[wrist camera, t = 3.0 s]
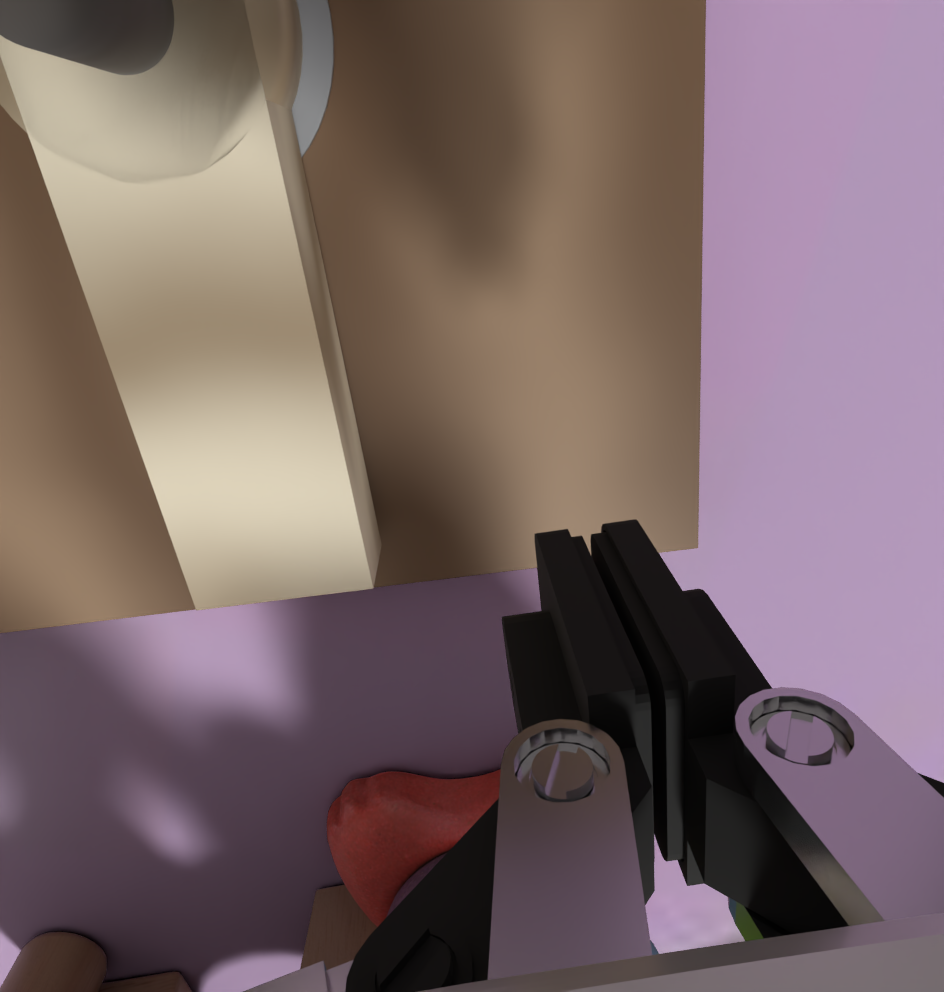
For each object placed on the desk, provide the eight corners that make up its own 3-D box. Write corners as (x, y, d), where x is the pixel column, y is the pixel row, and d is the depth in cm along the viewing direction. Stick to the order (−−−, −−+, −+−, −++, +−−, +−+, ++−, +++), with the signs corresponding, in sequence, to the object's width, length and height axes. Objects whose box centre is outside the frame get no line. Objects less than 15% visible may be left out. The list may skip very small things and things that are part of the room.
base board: (682, -457, 12) (718, -554, 10) (680, 521, 19) (700, 551, 18) (-780, -216, 12) (-956, -272, 11) (-216, 631, 20) (-270, 670, 19)
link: (-30, -123, 12) (-292, -286, 8) (264, -169, 11) (160, -359, 7) (203, 566, 17) (126, 688, 13) (401, 542, 17) (386, 657, 13)
